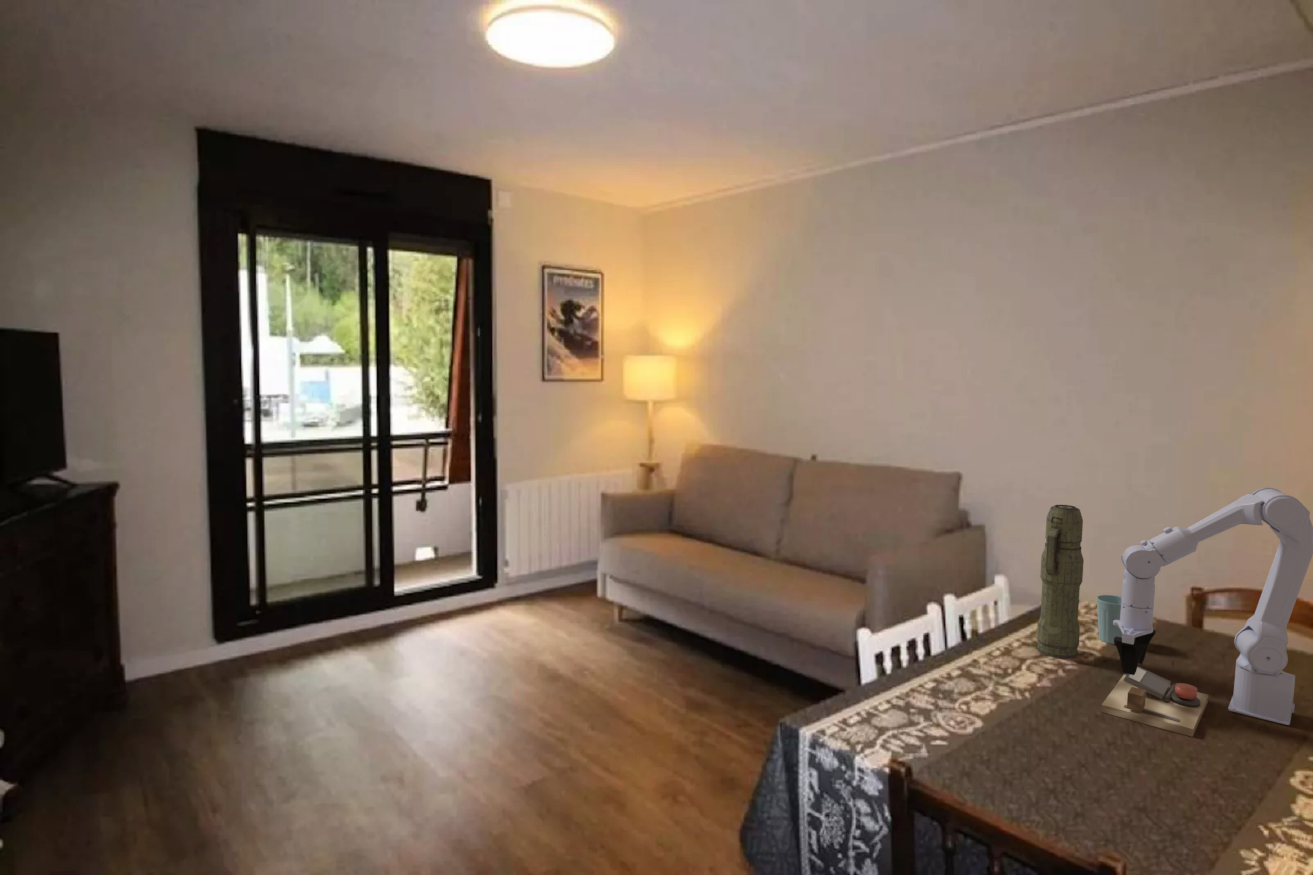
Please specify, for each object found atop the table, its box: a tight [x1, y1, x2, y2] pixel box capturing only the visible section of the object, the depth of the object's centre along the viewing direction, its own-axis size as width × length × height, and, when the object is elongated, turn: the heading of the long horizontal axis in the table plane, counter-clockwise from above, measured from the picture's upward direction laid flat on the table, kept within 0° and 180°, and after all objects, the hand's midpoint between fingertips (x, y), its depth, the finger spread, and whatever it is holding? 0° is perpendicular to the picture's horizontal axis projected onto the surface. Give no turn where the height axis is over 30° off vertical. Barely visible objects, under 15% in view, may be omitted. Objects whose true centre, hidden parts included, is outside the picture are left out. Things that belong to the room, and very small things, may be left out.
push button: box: [1174, 682, 1198, 700], centre depth 154 cm, size 4×4×2 cm
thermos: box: [1036, 504, 1085, 660], centre depth 182 cm, size 9×12×35 cm
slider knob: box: [1127, 687, 1146, 712], centre depth 150 cm, size 2×4×3 cm, turn 138°
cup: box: [1096, 594, 1122, 645], centre depth 190 cm, size 8×8×10 cm
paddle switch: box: [1124, 665, 1172, 699], centre depth 159 cm, size 7×9×1 cm
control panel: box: [1100, 674, 1209, 738], centre depth 155 cm, size 15×20×2 cm
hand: (1132, 667), depth 161 cm, fingers open, 7 cm apart
